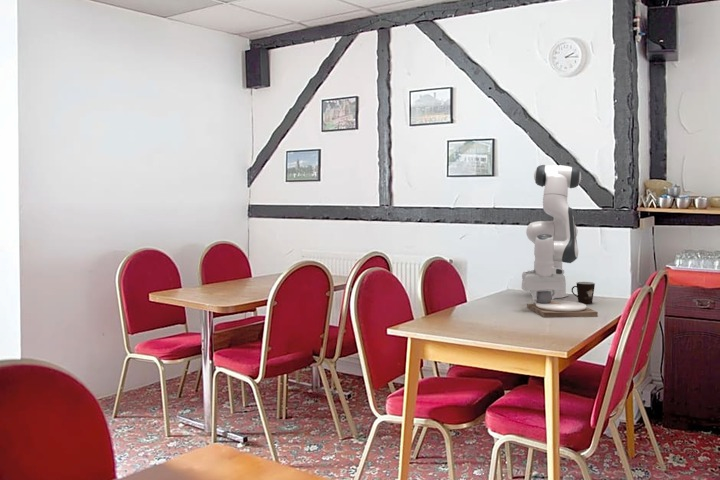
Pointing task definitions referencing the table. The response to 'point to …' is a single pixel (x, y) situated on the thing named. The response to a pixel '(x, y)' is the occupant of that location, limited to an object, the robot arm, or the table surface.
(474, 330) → the table surface
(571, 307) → the dial
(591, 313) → the base
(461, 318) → the table surface
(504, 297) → the table surface
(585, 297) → the coffee mug
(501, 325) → the table surface
